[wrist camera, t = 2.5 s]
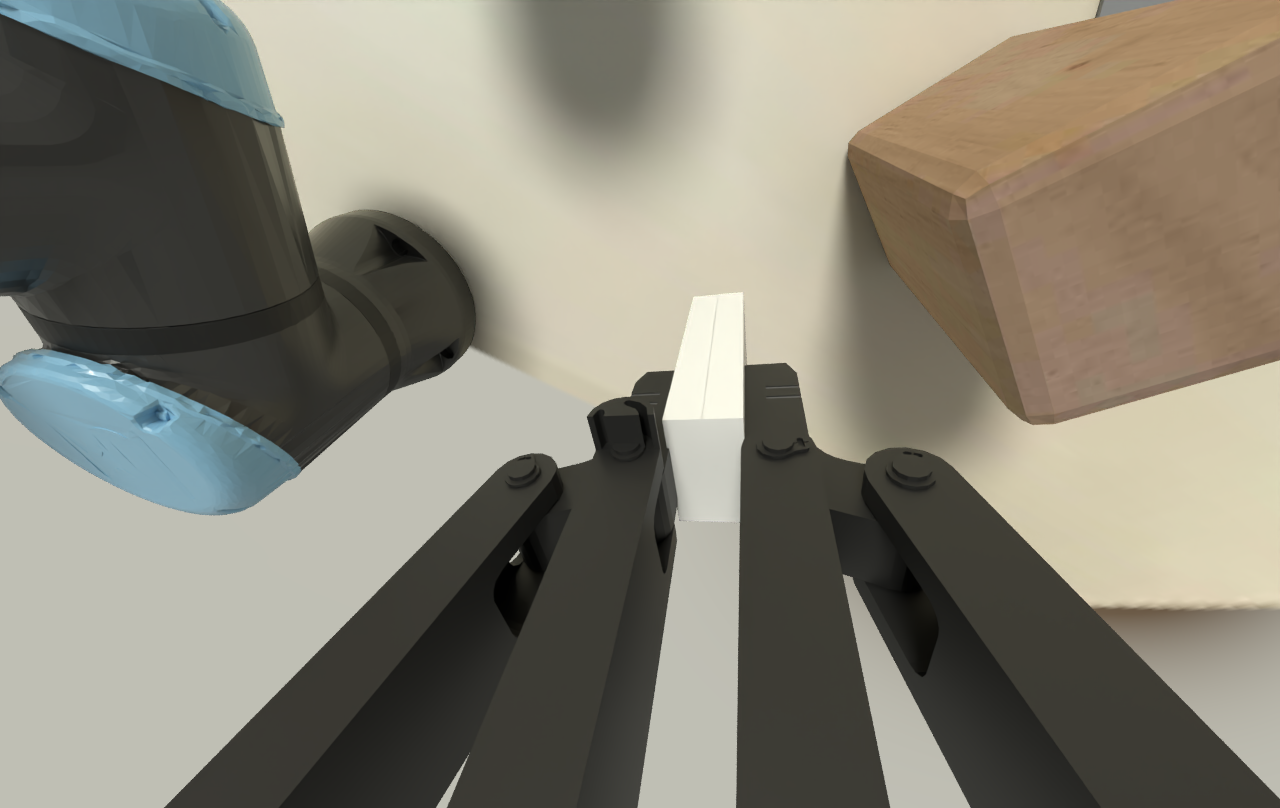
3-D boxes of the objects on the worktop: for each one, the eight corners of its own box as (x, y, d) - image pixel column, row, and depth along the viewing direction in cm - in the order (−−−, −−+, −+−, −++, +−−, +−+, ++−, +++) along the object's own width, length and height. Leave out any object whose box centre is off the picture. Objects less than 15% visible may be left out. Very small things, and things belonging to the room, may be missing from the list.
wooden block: (1024, 25, 25) (1543, -106, 9) (1059, 194, 29) (1465, 323, 12) (839, 140, 29) (950, 196, 13) (891, 272, 33) (1026, 443, 17)
